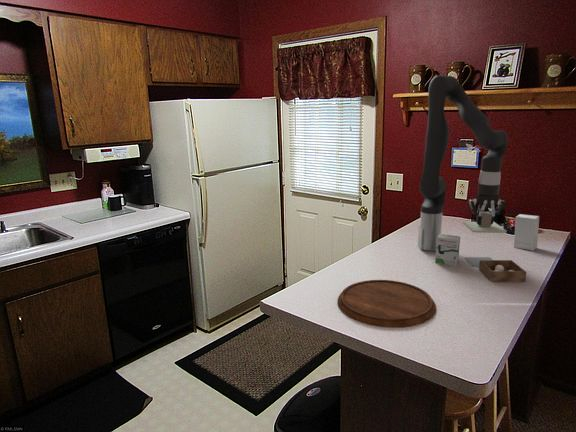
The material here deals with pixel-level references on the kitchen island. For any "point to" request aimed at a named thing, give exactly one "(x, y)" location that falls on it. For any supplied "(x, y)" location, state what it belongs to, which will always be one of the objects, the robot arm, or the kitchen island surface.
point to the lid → (485, 225)
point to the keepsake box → (502, 276)
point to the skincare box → (526, 232)
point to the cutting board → (386, 303)
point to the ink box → (447, 249)
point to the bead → (499, 268)
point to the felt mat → (475, 260)
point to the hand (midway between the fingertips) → (484, 224)
